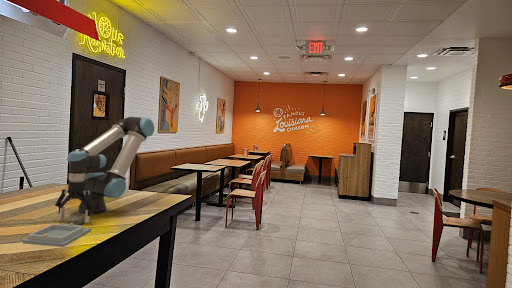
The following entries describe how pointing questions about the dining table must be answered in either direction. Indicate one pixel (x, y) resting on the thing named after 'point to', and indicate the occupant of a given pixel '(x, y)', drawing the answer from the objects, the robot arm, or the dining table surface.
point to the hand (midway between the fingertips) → (74, 220)
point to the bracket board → (57, 235)
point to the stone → (76, 218)
